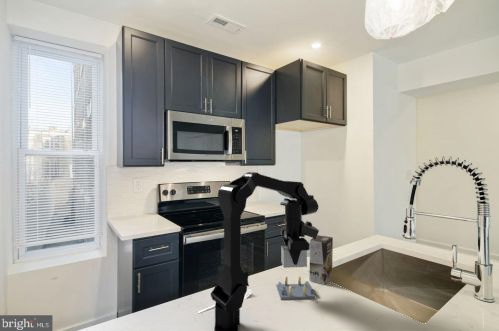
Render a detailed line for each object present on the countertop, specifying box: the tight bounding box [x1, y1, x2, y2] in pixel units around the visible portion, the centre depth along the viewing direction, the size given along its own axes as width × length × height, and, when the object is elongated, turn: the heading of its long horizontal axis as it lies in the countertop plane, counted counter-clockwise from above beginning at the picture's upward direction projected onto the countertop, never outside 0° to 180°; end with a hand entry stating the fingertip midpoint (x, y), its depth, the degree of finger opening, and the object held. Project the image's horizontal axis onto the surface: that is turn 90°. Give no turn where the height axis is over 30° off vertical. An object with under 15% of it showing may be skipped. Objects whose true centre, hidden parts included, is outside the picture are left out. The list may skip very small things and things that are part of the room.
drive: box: [280, 245, 308, 269], centre depth 89 cm, size 8×4×6 cm, turn 93°
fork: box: [197, 287, 253, 314], centre depth 84 cm, size 3×20×2 cm, turn 125°
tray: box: [275, 275, 317, 300], centre depth 91 cm, size 12×9×4 cm
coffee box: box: [308, 234, 334, 285], centre depth 101 cm, size 9×6×16 cm
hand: (293, 261), depth 89 cm, fingers closed on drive, 4 cm apart
